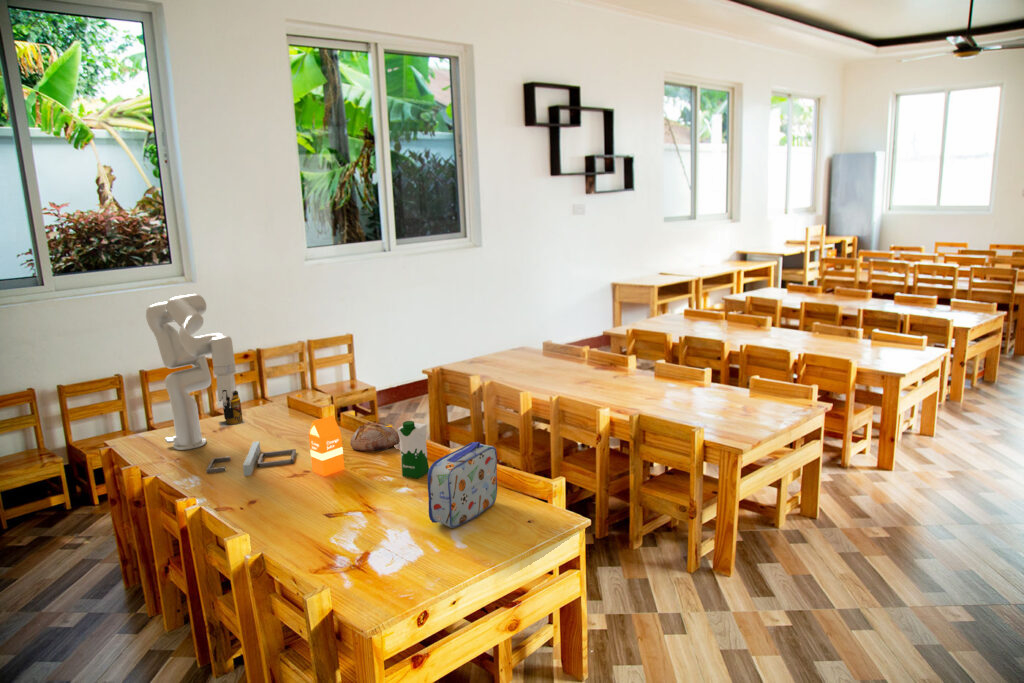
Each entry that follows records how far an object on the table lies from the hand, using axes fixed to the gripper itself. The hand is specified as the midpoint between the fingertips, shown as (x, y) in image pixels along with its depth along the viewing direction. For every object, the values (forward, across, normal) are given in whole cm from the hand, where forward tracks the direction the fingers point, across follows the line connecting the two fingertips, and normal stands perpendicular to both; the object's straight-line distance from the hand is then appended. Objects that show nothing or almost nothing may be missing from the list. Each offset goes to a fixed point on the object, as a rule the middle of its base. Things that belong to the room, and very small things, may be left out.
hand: (231, 415), depth 268 cm
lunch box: (+20, +66, +80) cm, 106 cm away
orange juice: (+20, +16, +35) cm, 43 cm away
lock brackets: (+20, 0, +5) cm, 20 cm away
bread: (+20, -6, +52) cm, 56 cm away
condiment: (+3, 0, 0) cm, 3 cm away
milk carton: (+20, +29, +66) cm, 75 cm away
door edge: (+20, 0, +5) cm, 20 cm away
